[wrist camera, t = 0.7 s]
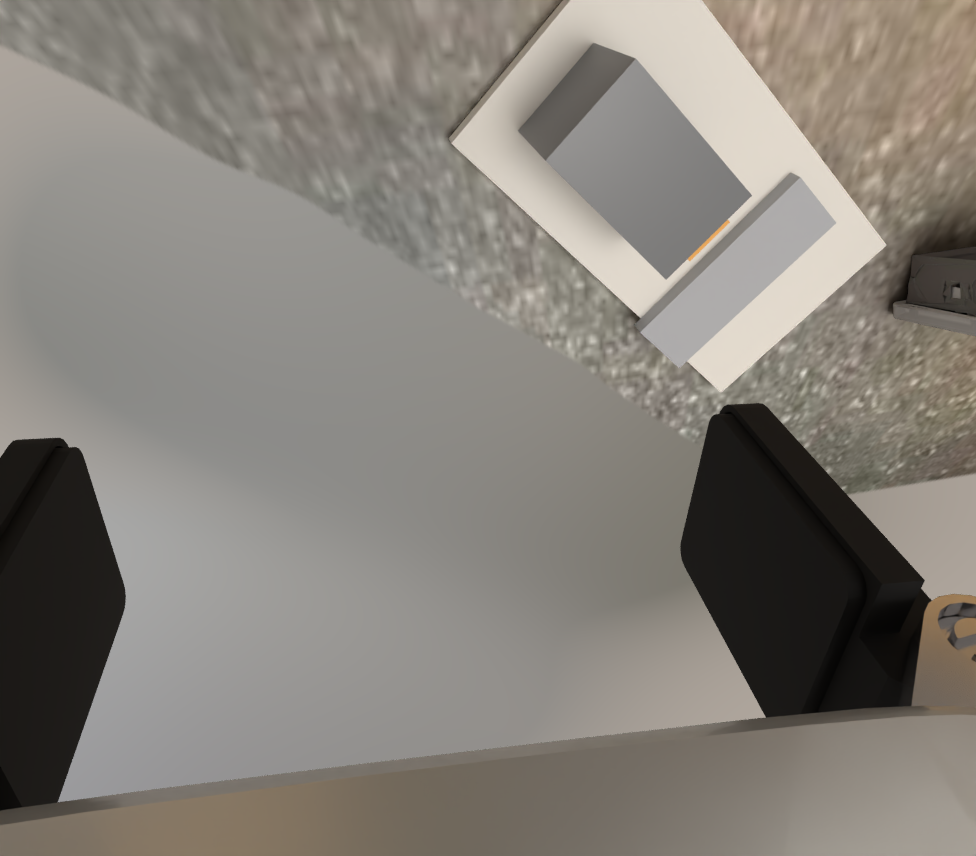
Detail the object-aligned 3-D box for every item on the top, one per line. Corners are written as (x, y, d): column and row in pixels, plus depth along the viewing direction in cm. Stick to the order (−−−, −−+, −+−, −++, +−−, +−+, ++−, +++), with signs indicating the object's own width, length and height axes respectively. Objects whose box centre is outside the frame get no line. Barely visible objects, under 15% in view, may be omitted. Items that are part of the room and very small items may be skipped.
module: (593, 42, 33) (636, 58, 28) (705, 170, 37) (759, 204, 32) (517, 131, 35) (545, 160, 30) (632, 244, 39) (674, 287, 34)
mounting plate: (630, -82, 32) (646, -84, 30) (873, 238, 42) (897, 251, 40) (441, 146, 36) (446, 156, 34) (706, 388, 46) (721, 406, 44)
